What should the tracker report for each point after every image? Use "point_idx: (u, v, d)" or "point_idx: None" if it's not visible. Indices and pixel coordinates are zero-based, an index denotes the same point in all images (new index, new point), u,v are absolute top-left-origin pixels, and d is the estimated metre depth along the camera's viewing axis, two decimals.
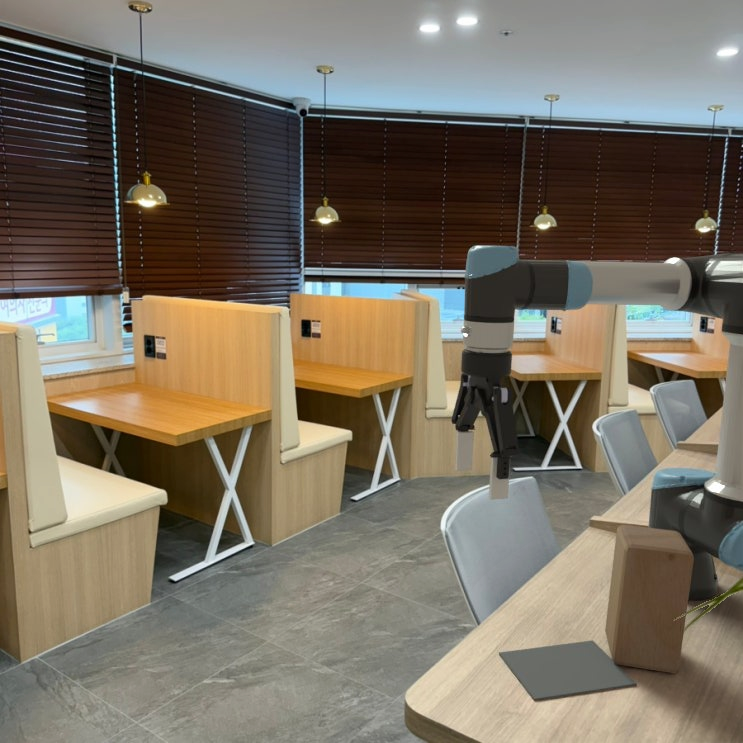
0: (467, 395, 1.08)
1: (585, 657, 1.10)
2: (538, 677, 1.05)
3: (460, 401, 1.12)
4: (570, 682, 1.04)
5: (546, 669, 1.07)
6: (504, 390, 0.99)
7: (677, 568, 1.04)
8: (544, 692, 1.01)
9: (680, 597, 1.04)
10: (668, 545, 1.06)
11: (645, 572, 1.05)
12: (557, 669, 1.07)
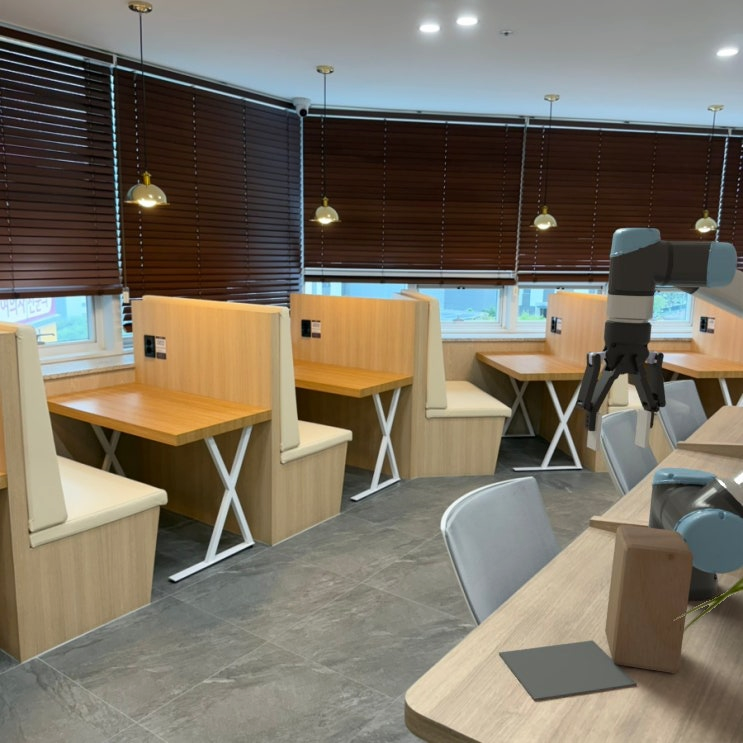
0: None
1: (585, 657, 1.10)
2: (538, 677, 1.05)
3: None
4: (570, 682, 1.04)
5: (546, 669, 1.07)
6: (590, 355, 1.17)
7: (677, 568, 1.04)
8: (544, 692, 1.01)
9: (680, 597, 1.04)
10: (668, 544, 1.06)
11: (645, 571, 1.05)
12: (557, 669, 1.07)
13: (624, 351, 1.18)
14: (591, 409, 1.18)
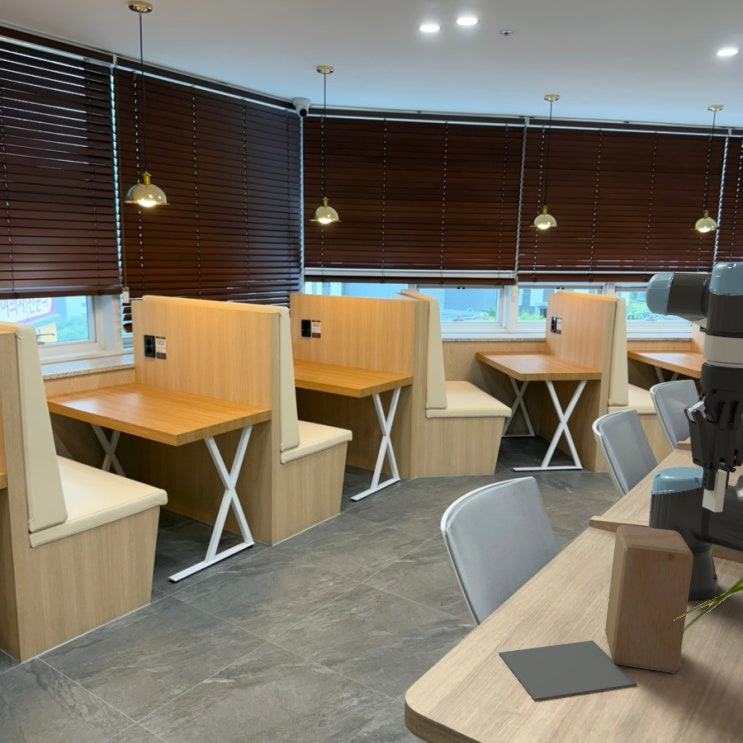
0: None
1: (585, 657, 1.10)
2: (538, 677, 1.05)
3: None
4: (570, 682, 1.04)
5: (546, 669, 1.07)
6: (689, 413, 1.06)
7: (677, 568, 1.04)
8: (544, 692, 1.01)
9: (680, 597, 1.04)
10: (668, 544, 1.06)
11: (645, 571, 1.05)
12: (557, 669, 1.07)
13: (723, 392, 1.06)
14: (711, 467, 1.08)
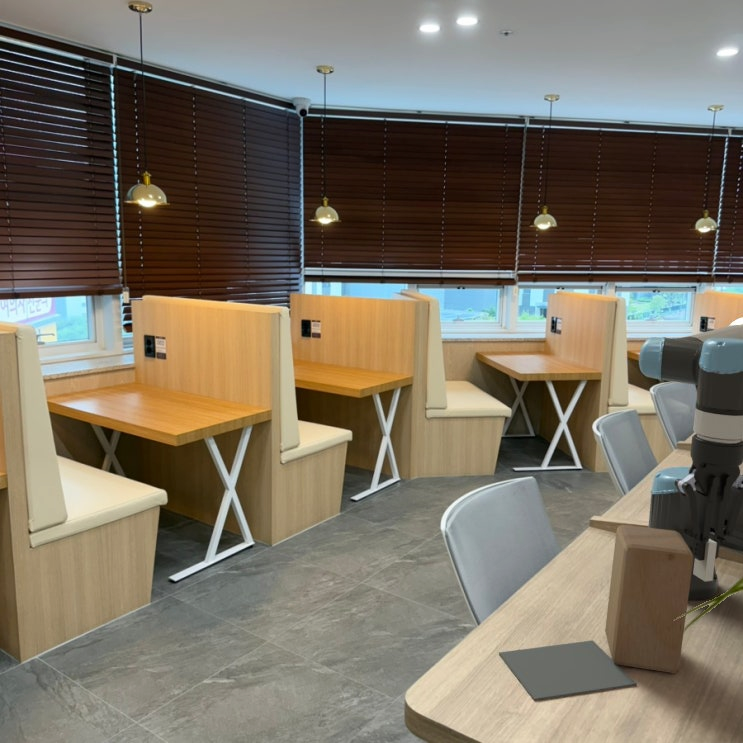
0: None
1: (585, 657, 1.10)
2: (538, 677, 1.05)
3: None
4: (570, 682, 1.04)
5: (546, 669, 1.07)
6: (679, 486, 1.08)
7: (677, 568, 1.04)
8: (544, 692, 1.01)
9: (680, 597, 1.04)
10: (668, 544, 1.06)
11: (645, 571, 1.05)
12: (557, 669, 1.07)
13: (712, 466, 1.08)
14: (701, 538, 1.10)
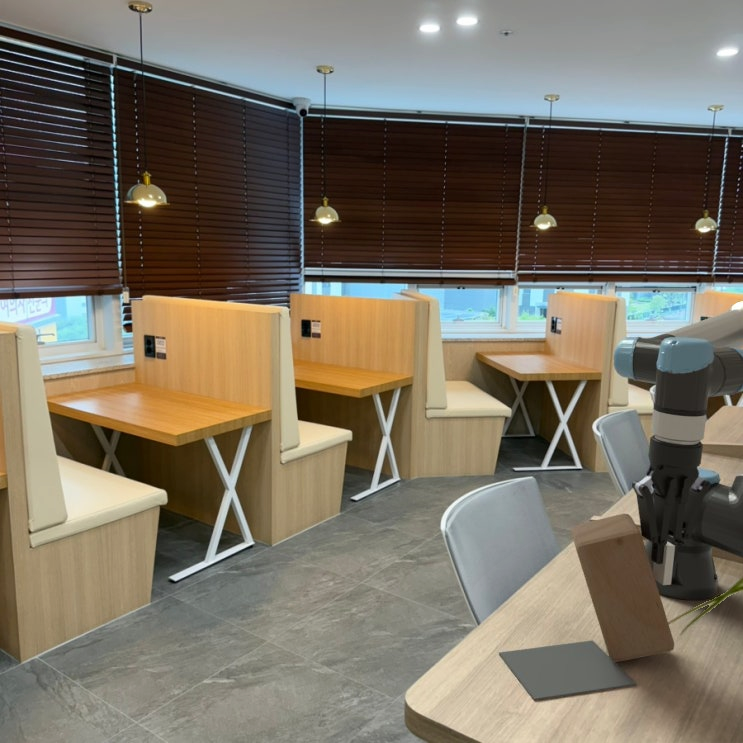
0: None
1: (585, 657, 1.10)
2: (538, 677, 1.05)
3: None
4: (570, 682, 1.04)
5: (546, 669, 1.07)
6: (636, 488, 1.06)
7: (629, 550, 1.05)
8: (544, 692, 1.01)
9: (644, 576, 1.05)
10: (615, 530, 1.08)
11: (602, 564, 1.06)
12: (557, 669, 1.07)
13: (670, 468, 1.06)
14: (659, 541, 1.08)
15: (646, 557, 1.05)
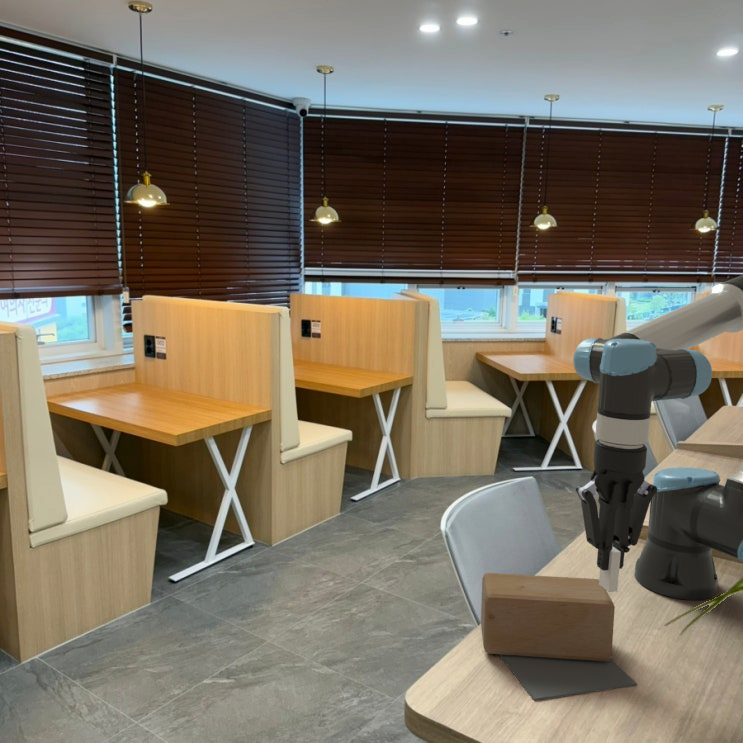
0: None
1: None
2: (538, 677, 1.05)
3: None
4: (570, 682, 1.04)
5: (546, 669, 1.07)
6: (580, 493, 1.04)
7: (502, 611, 1.09)
8: (544, 692, 1.01)
9: (531, 607, 1.08)
10: (484, 609, 1.11)
11: (508, 638, 1.09)
12: (557, 669, 1.07)
13: (614, 472, 1.03)
14: (604, 547, 1.06)
15: (514, 598, 1.09)
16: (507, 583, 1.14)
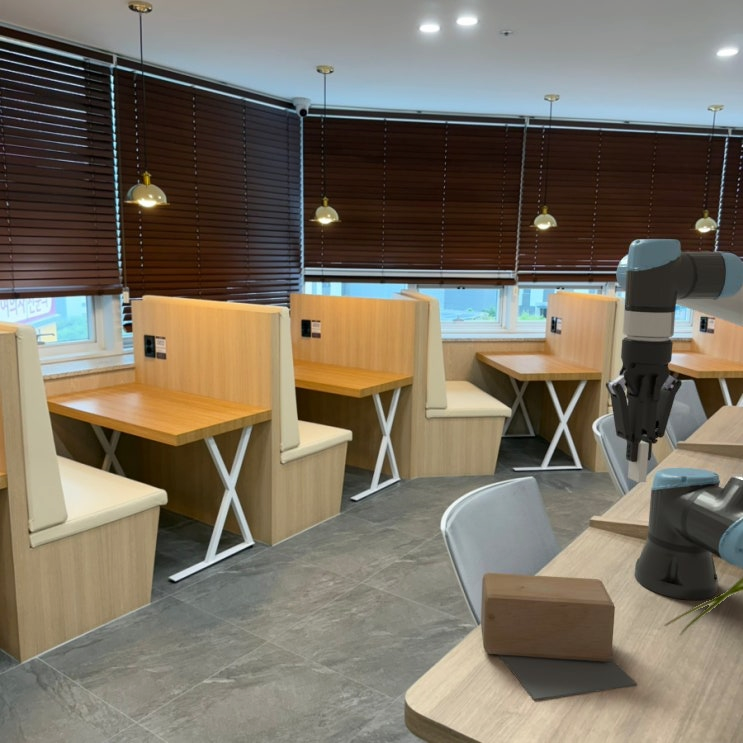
0: None
1: None
2: (538, 677, 1.05)
3: None
4: (570, 682, 1.04)
5: (546, 669, 1.07)
6: (610, 386, 1.09)
7: (502, 611, 1.09)
8: (544, 692, 1.01)
9: (531, 607, 1.08)
10: (484, 610, 1.11)
11: (508, 638, 1.09)
12: (557, 669, 1.07)
13: (642, 366, 1.09)
14: (633, 439, 1.11)
15: (514, 598, 1.09)
16: (508, 583, 1.14)
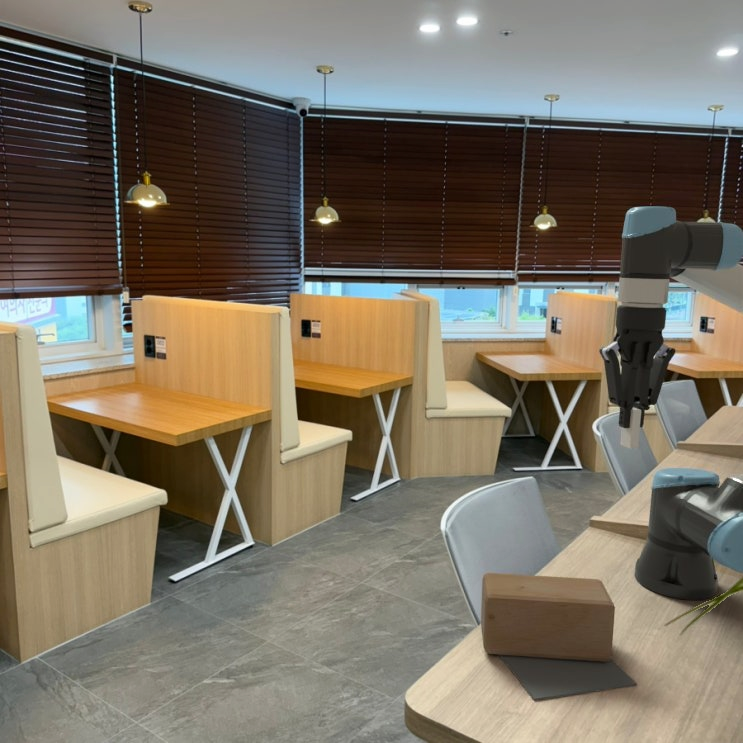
0: None
1: None
2: (538, 677, 1.05)
3: (650, 372, 1.15)
4: (570, 682, 1.04)
5: (546, 669, 1.07)
6: (603, 352, 1.11)
7: (502, 611, 1.09)
8: (544, 692, 1.01)
9: (531, 607, 1.08)
10: (484, 610, 1.11)
11: (508, 638, 1.09)
12: (557, 669, 1.07)
13: (635, 332, 1.11)
14: (626, 405, 1.13)
15: (514, 598, 1.09)
16: (508, 583, 1.14)
